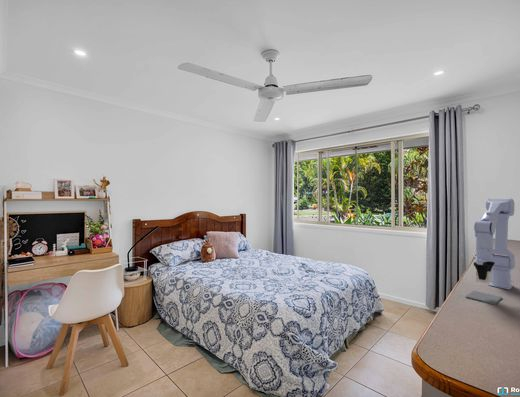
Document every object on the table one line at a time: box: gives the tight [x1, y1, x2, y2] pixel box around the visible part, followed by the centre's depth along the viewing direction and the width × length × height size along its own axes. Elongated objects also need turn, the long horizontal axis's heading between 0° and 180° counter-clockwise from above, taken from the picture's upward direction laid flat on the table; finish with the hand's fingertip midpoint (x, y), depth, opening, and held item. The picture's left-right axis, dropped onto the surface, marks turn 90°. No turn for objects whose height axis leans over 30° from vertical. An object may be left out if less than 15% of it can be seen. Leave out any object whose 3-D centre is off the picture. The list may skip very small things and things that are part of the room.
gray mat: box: [465, 290, 503, 306], centre depth 120 cm, size 12×10×1 cm
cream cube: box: [475, 270, 492, 285], centre depth 120 cm, size 4×4×4 cm
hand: (483, 278), depth 120 cm, fingers closed on cream cube, 4 cm apart
